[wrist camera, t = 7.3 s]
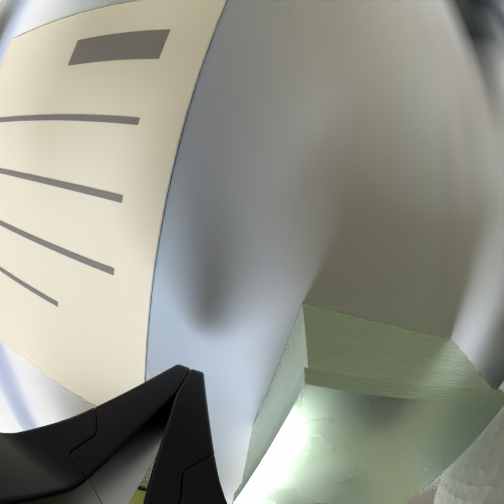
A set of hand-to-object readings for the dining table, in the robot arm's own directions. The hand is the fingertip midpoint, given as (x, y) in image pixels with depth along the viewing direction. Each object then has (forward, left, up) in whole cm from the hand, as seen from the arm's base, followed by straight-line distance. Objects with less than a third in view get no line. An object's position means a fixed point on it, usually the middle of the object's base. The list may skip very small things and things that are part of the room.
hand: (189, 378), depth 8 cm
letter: (+3, +9, -1) cm, 9 cm away
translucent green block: (0, -6, -2) cm, 6 cm away
